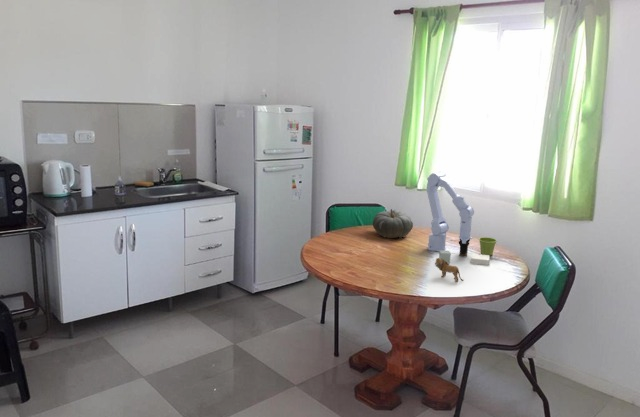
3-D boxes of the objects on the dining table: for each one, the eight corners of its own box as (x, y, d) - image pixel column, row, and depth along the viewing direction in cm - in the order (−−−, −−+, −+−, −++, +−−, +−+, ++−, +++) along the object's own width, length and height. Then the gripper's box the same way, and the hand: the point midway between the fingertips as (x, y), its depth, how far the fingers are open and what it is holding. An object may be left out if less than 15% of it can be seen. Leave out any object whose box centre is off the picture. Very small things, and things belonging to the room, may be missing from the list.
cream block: (470, 263, 259) (471, 258, 259) (471, 258, 268) (471, 253, 267) (488, 265, 257) (489, 260, 256) (488, 260, 265) (489, 255, 264)
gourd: (399, 224, 327) (400, 200, 320) (420, 240, 306) (422, 214, 299) (366, 231, 318) (366, 207, 311) (385, 248, 297) (386, 222, 290)
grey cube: (440, 262, 260) (441, 253, 259) (438, 259, 265) (439, 250, 264) (450, 262, 260) (450, 253, 258) (448, 259, 264) (448, 250, 263)
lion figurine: (432, 276, 239) (433, 258, 237) (437, 273, 243) (438, 255, 241) (461, 283, 230) (462, 265, 228) (465, 280, 234) (467, 262, 232)
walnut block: (459, 256, 271) (460, 247, 270) (459, 253, 275) (460, 245, 274) (466, 256, 270) (467, 248, 269) (467, 254, 274) (467, 246, 272)
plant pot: (496, 257, 269) (498, 242, 267) (478, 256, 270) (479, 241, 269) (494, 252, 278) (495, 237, 276) (476, 251, 279) (478, 236, 278)
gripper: (472, 232, 261) (470, 257, 264) (473, 226, 275) (471, 249, 277) (458, 231, 263) (456, 255, 266) (460, 225, 277) (458, 248, 280)
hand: (463, 252), depth 272 cm, fingers open, 5 cm apart
